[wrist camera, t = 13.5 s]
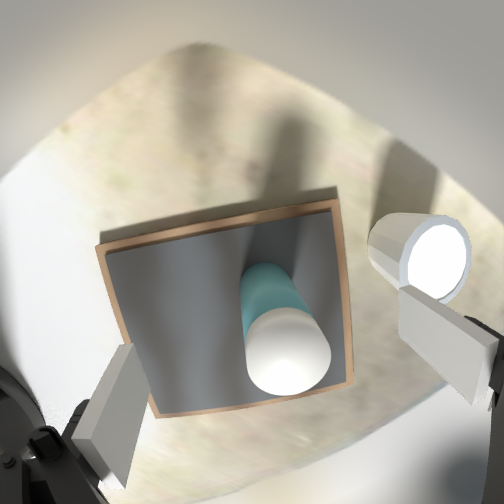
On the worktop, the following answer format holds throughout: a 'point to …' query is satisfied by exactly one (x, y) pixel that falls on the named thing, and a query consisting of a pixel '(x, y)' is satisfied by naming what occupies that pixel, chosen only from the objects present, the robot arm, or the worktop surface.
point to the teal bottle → (280, 333)
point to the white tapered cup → (421, 252)
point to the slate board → (224, 302)
